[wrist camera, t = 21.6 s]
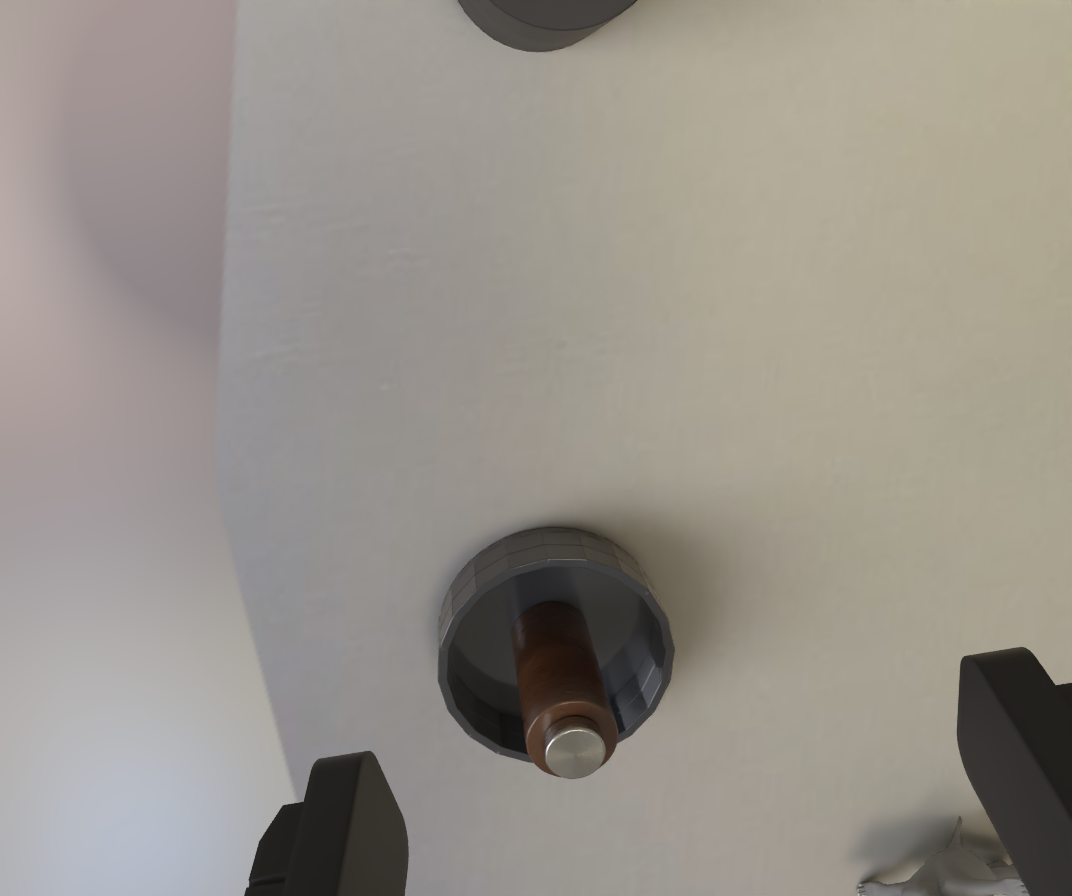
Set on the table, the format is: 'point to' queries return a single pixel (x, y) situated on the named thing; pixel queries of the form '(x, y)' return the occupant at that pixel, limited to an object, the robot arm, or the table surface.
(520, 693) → the pepper mill
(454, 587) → the pan
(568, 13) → the stand
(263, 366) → the table surface
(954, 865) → the grey creature figurine
